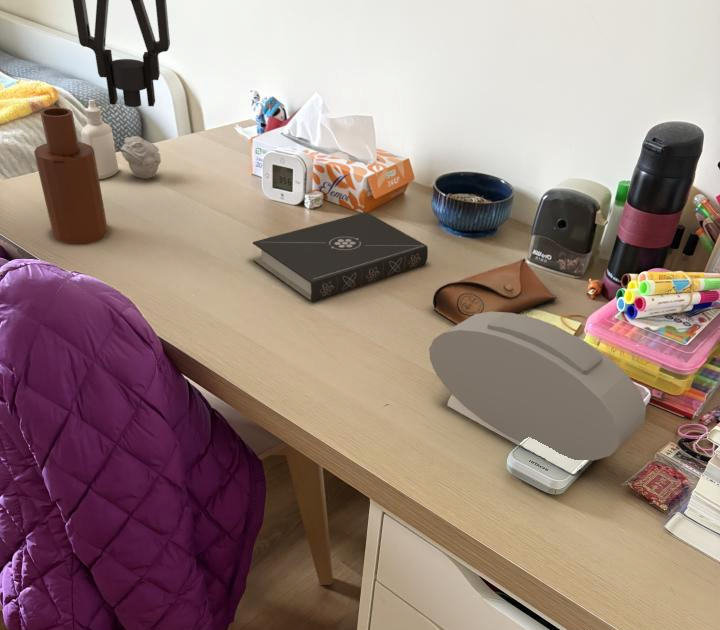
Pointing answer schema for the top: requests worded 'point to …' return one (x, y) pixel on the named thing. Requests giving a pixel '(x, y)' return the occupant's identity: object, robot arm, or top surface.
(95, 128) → the eye dropper bottle
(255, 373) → the top surface
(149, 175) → the frog figurine
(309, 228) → the book
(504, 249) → the top surface
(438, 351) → the alarm clock
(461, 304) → the sunglasses case
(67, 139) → the brown bottle
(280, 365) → the top surface
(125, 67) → the bung
